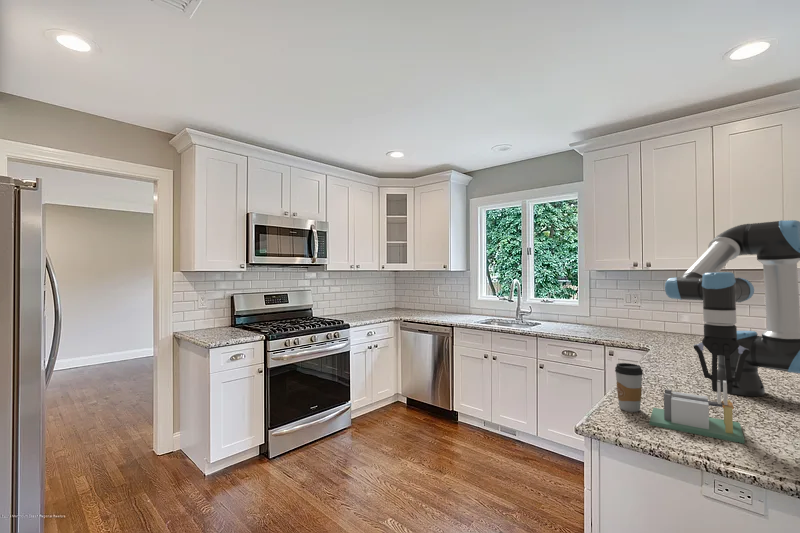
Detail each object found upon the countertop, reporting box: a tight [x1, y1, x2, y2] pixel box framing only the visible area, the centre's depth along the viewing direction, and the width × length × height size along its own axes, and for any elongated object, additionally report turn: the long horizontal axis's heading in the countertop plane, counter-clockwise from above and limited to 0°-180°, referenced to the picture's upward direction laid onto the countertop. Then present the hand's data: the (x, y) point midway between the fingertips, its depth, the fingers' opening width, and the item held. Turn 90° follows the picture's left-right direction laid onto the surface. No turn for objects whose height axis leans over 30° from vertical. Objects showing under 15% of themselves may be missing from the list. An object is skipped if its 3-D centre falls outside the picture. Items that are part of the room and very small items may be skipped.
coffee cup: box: [614, 362, 644, 413], centre depth 132 cm, size 8×8×15 cm
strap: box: [683, 398, 734, 410], centre depth 116 cm, size 16×4×1 cm, turn 52°
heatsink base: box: [649, 388, 745, 444], centre depth 117 cm, size 22×14×9 cm, turn 52°
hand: (722, 403), depth 113 cm, fingers closed, pressing on strap
